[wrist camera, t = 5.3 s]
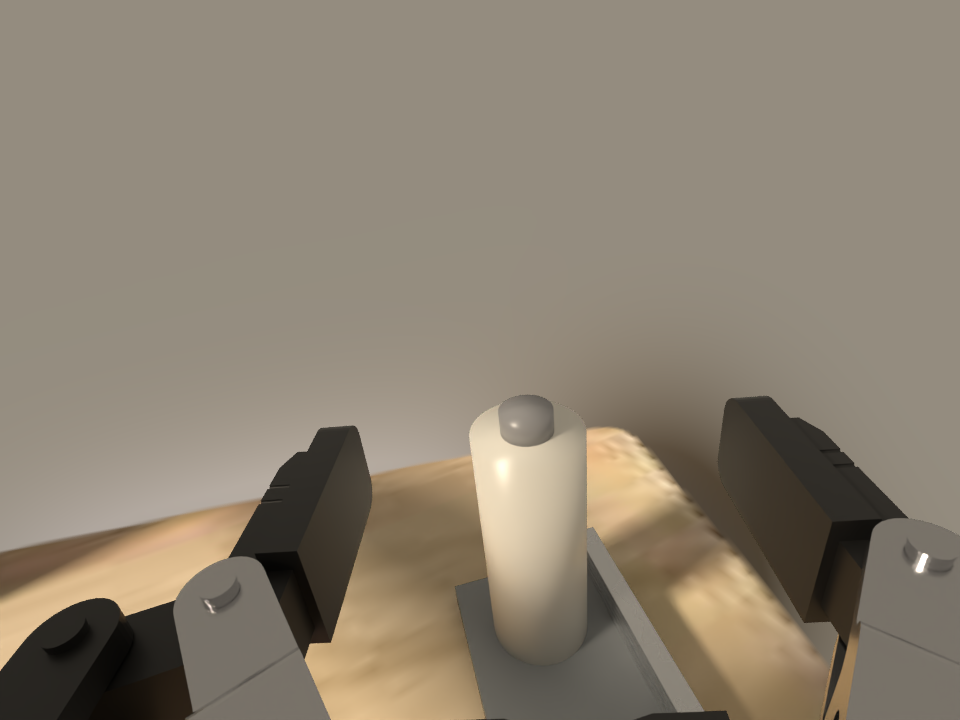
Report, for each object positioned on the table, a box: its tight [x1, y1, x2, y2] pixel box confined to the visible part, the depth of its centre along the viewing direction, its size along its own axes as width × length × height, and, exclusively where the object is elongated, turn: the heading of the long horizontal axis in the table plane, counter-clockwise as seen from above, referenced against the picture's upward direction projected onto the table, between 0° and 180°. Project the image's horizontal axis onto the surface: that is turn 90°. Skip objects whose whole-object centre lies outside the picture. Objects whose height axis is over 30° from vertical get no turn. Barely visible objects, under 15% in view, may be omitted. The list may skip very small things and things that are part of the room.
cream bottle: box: [469, 395, 587, 666], centre depth 28 cm, size 6×6×15 cm
